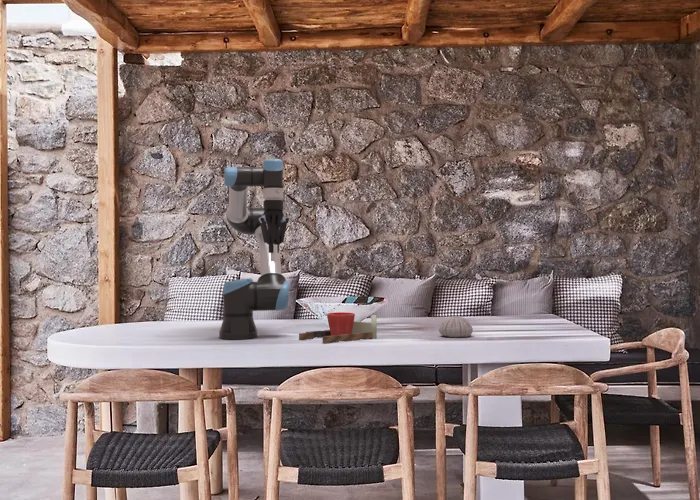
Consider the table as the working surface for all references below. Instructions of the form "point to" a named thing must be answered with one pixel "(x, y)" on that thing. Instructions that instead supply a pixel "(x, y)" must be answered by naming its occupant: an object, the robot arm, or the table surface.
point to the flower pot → (340, 323)
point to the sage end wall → (366, 327)
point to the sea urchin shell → (455, 327)
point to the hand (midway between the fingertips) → (274, 261)
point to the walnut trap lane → (334, 336)
